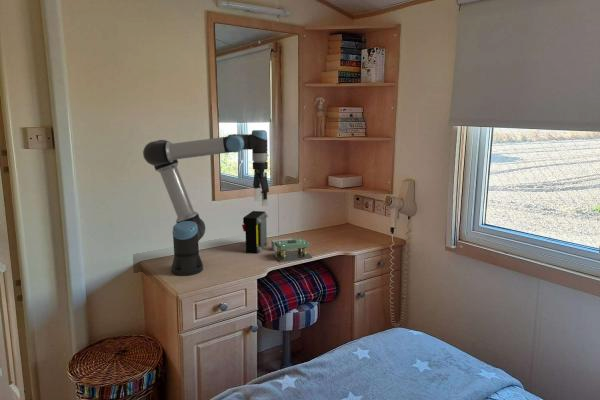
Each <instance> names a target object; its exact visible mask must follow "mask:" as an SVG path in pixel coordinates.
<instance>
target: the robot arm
mask: <svg viewBox="0 0 600 400" xmlns="http://www.w3.org/2000/svg"><path fill="white" fill-rule="evenodd" d="M242 150H244V151H245V150H246V151H247V150H251V152H252V154H251V157H252V159H251V161H252V169H253V170H254V175H253V182H252V187H253V189H254V190H253V191H254V202H260V201H261V206H262V207H266V206H268V202H269V201H268V197H269V196H268V193H269V192H270V189H269V184H268V183H269V182H268V176H267V174H268V173H267V172H265V170H268V168H269V166H268V165H269V162H268V157H269V154H268V132H267V131H266V129H253V130H251V133H250V134H249V133H248V134H246V133H245V134H243V133H242V134H241V133H239V134H237V133H234V134H233V133H232V134H228V136H221V137H214V138H213V137H212V138H207V139H198V140H191V141H189V140H188V141H183V142H182V141H181V142H174V143H172V142H171V141H168V140H166V139H158V140H154V141H150V142H148V143H147V144H145V146H144V147H143V150H142V156H143V158H144V160H145V161H146V162H147V164H149V165H150V166H151V165H152V166H153V167H154V170H155V171H156V172H158V173H160V177H161V179H162V181H163V184H164V186H165V188H166V190H167V194H168V196H169V199H170V202H171V204H172V206H173V209H174V212H175V215H176V216H177V218H176V220H175V222H176V223H175V224H174V225H173V226H172V239H173V240H172V241H173V254H174V255H173V260H172V263H171V268H170V269H171V273H172V274H173V275H175V276H183V277H184V276H193V275H196V274H199V273H201V272H203V270H204V264H203V261H202V259H201V258H202V257H201V256H200V253H199V252H200V251H199V250H200V249H199V242H200V241H201V239H202V238H203V237H204V235H205V233H206V224H205V222H204V220H203V219H202V218H200V215H199V213H198V212H196V211H195V210H194V208H193V205H192V203H191V200H190V198H189V195H188V192H187V190H186V187H185V185H184V182H183V179H182V177H181V175H180V171H179V170H178V165H179V160H182V159H183V160H184V159H190V158H197V157H207V156H213V155H220V154H229V153H230V154H231V153H240V152H241V151H242Z"/></svg>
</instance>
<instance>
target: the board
mask: <svg viewBox="0 0 600 400" xmlns="http://www.w3.org/2000/svg"><path fill="white" fill-rule="evenodd" d="M300 239H301V240H300ZM279 242H281V243H279ZM304 242H305V243H304ZM275 245H276V246H277V247H278V248H279V249H280V250H286V251H288V250H287V249H290V250H296V249H298V248H304V247H307V248H310V242H308V241H307V240H306V239H304V238H292V240H283V241H275ZM282 245H284V246H282Z"/></svg>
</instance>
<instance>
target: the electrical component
mask: <svg viewBox="0 0 600 400" xmlns="http://www.w3.org/2000/svg"><path fill="white" fill-rule="evenodd" d="M268 216H269V214H268V213H267V212H266V211H263V210H261V211H260V210H252V211H250V212H249V213H248V214H246V215H245V216H244V217H243V218H242V220H243V221H242V225H241V227H242V230H243V232H245V253H246V254H253V255H254V254H255V255H257V254H259V253H260V252H262V250H263V249H264V248H265V247H266V245H269V240H268V239H267V238H268V237H267V236H268V235H267V233H268V232H267V230H268V229H267V218H269V217H268Z"/></svg>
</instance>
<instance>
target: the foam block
mask: <svg viewBox="0 0 600 400" xmlns="http://www.w3.org/2000/svg"><path fill="white" fill-rule="evenodd" d="M292 239H293V238H290V237H289V238H282V239H272V240H271V250H272V251H273V252H277V246H276V245H275V241H283V240H292ZM288 250H289V251H291V249H287V250H286V251H288Z"/></svg>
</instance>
